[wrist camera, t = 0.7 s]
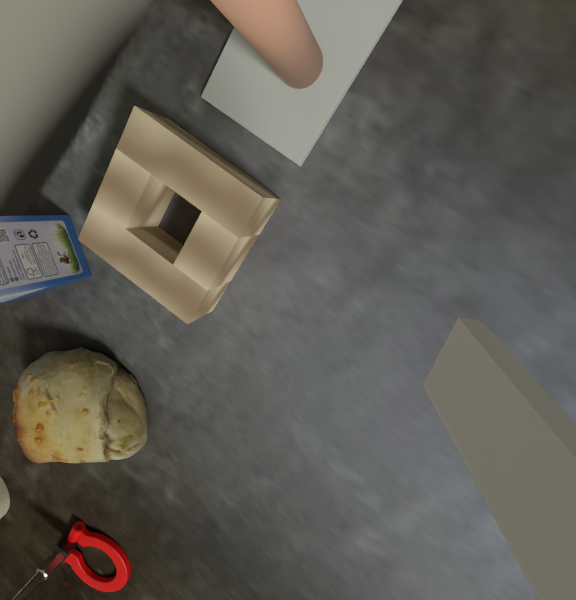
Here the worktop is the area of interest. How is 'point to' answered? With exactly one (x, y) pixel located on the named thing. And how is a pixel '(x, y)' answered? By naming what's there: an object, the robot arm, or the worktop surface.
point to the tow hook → (81, 562)
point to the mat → (289, 101)
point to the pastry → (78, 409)
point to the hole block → (153, 204)
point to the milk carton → (38, 255)
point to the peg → (277, 37)
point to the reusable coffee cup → (3, 498)
